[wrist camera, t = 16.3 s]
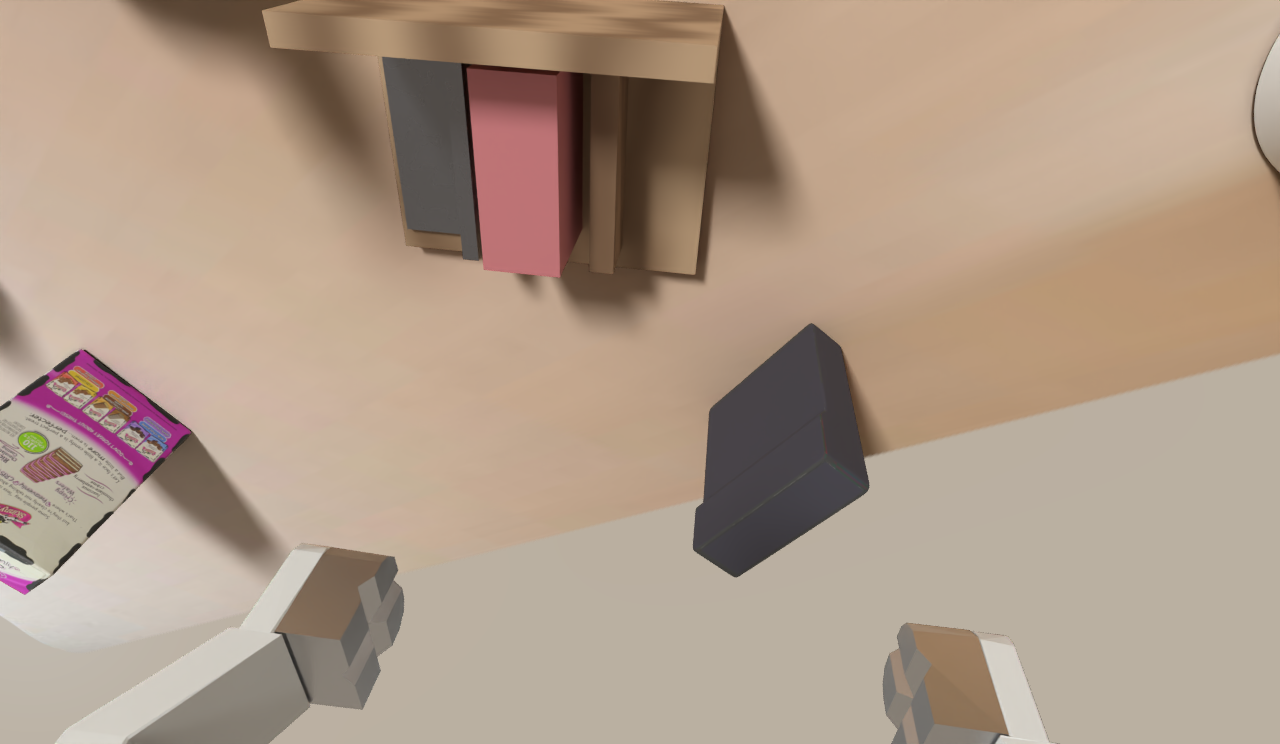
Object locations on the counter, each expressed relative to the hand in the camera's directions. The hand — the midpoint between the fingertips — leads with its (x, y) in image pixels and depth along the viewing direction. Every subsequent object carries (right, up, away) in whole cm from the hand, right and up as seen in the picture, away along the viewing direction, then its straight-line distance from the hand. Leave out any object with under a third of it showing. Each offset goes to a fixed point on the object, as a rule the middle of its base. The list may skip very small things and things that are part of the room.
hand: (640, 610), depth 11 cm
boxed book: (-6, +18, +32) cm, 37 cm away
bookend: (-12, +19, +32) cm, 39 cm away
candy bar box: (-46, +1, +52) cm, 69 cm away
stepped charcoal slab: (+10, +3, +42) cm, 43 cm away
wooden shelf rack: (-6, +19, +33) cm, 39 cm away
